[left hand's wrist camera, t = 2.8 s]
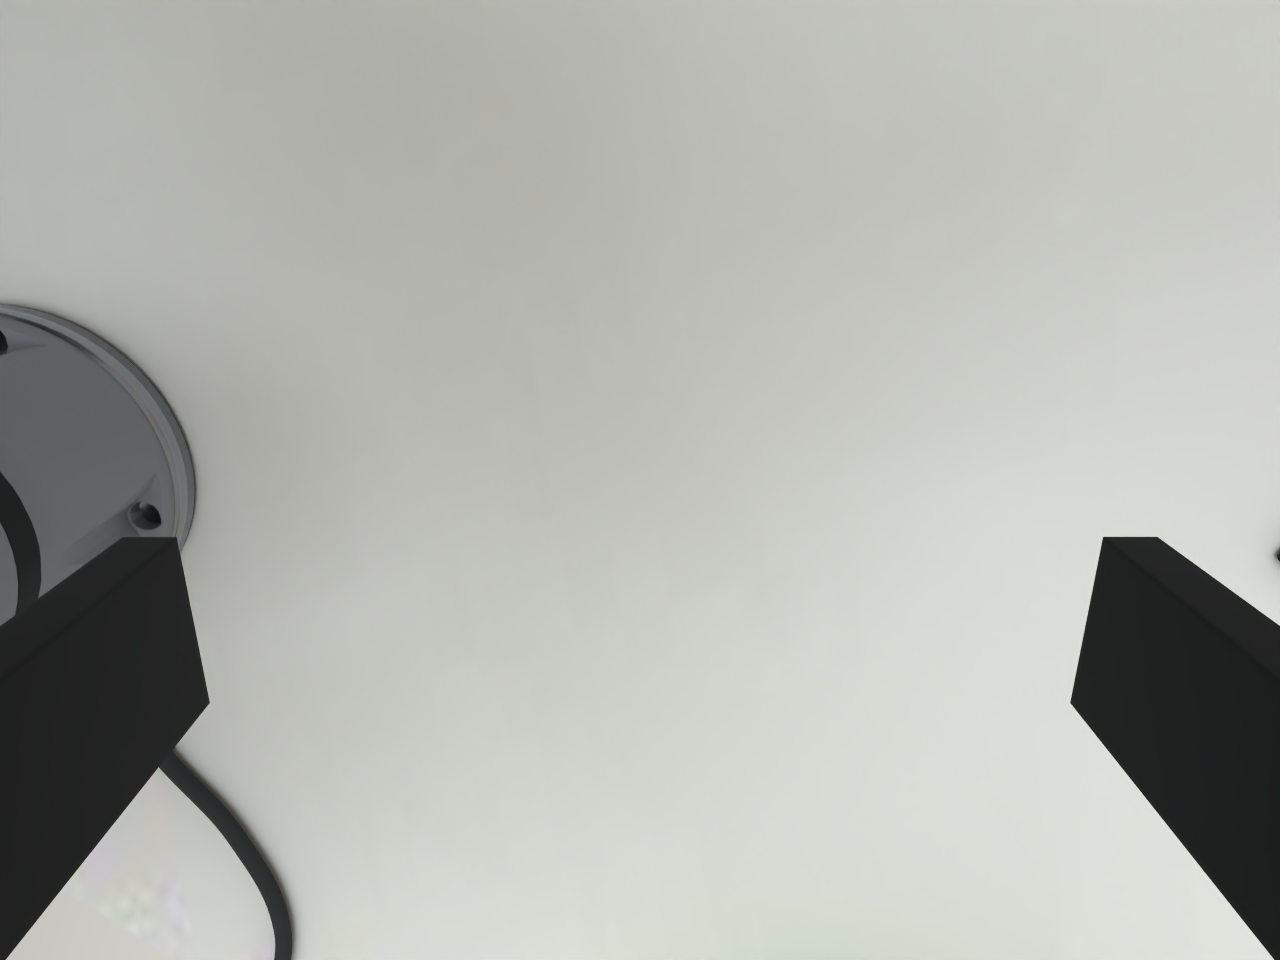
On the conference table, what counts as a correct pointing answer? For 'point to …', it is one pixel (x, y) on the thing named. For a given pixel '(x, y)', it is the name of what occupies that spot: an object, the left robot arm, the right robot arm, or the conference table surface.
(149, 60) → the conference table surface
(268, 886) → the right robot arm
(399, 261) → the conference table surface
